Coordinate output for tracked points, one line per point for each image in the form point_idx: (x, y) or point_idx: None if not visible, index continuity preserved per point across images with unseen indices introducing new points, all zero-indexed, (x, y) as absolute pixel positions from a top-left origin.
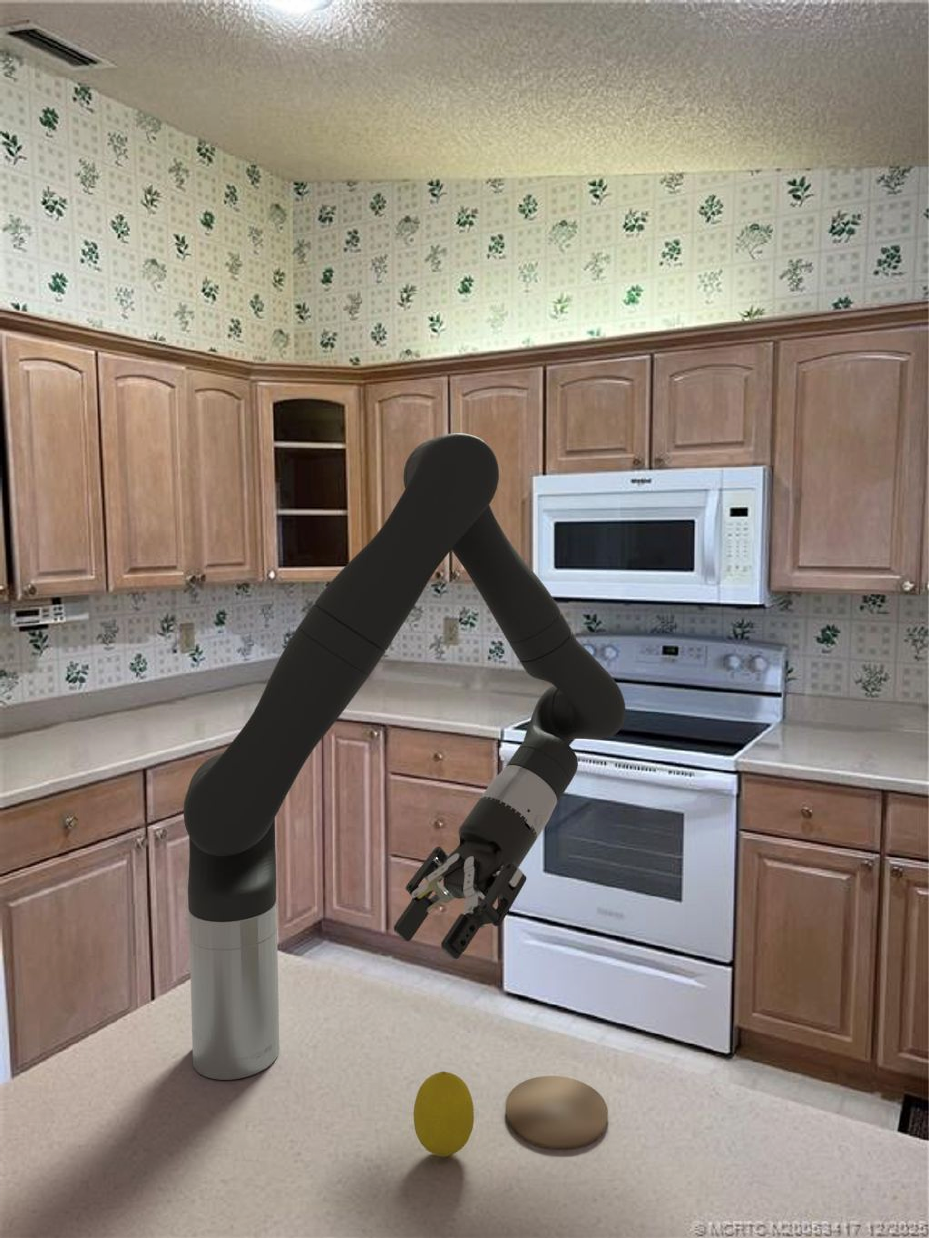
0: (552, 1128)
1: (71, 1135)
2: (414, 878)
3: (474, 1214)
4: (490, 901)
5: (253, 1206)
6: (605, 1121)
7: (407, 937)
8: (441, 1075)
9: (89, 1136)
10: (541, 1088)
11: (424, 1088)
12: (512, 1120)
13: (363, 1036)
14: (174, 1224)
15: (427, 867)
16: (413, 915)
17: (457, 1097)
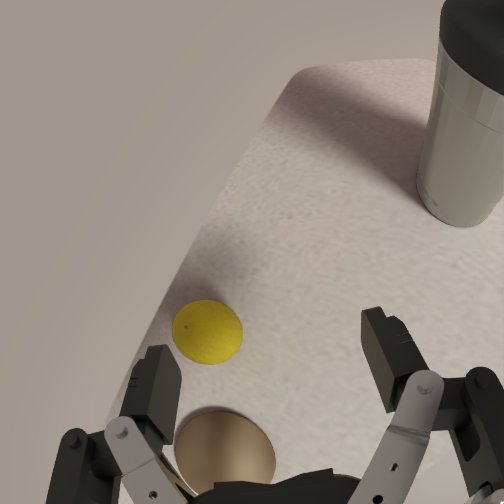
0: (197, 437)
1: (374, 82)
2: (496, 402)
3: (161, 327)
4: (59, 453)
5: (248, 179)
6: (184, 479)
7: (363, 341)
8: (185, 322)
9: (370, 90)
10: (253, 467)
11: (197, 305)
12: (223, 413)
13: (455, 325)
14: (258, 135)
15: (495, 457)
16: (380, 362)
17: (172, 333)
